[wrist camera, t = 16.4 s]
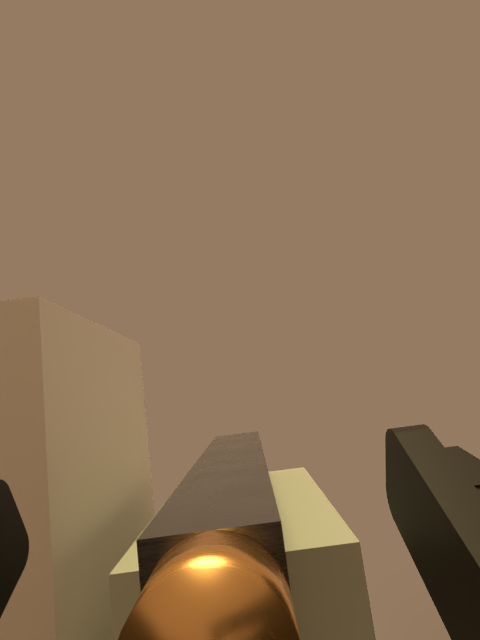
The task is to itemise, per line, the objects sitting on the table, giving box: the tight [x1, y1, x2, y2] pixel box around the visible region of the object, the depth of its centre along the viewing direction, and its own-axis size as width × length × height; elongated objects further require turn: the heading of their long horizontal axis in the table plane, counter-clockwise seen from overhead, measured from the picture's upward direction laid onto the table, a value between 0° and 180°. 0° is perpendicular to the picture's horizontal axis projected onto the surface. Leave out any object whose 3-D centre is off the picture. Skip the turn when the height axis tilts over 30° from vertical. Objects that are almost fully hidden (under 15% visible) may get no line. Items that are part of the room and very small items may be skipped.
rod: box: [118, 432, 300, 640], centre depth 19 cm, size 3×24×3 cm, turn 179°
